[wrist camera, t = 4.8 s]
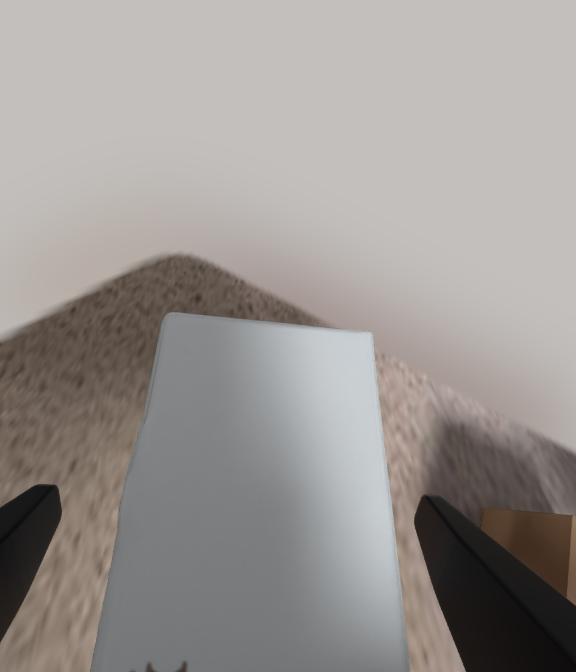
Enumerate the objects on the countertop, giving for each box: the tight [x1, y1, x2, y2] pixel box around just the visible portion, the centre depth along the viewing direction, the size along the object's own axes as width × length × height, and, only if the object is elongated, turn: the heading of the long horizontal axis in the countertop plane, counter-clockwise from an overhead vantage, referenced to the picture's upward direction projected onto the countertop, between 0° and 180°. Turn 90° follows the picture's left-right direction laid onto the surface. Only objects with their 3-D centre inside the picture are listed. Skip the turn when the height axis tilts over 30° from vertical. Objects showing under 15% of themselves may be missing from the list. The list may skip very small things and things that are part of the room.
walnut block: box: [481, 508, 576, 605], centre depth 14 cm, size 5×5×5 cm
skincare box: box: [90, 312, 410, 672], centre depth 10 cm, size 6×4×12 cm
